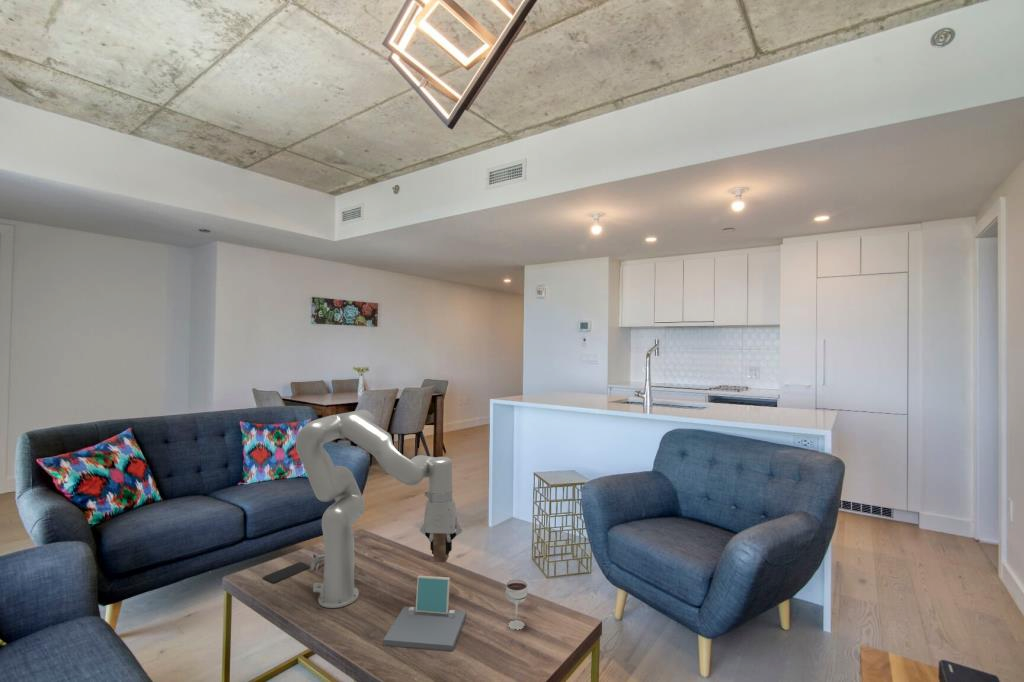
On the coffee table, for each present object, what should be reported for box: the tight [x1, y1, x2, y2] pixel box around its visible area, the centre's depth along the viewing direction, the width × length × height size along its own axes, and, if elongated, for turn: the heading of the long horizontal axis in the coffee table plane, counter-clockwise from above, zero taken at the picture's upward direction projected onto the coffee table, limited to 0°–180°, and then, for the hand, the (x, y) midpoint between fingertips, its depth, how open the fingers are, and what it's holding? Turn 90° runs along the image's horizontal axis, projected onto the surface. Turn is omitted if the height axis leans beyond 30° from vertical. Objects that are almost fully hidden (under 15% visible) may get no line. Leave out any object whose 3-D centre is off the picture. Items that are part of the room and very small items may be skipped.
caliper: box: [309, 553, 324, 573], centre depth 184 cm, size 20×1×6 cm, turn 151°
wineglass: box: [505, 579, 529, 631], centre depth 143 cm, size 7×7×12 cm
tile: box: [415, 575, 451, 614], centre depth 146 cm, size 10×10×1 cm
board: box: [382, 606, 467, 652], centre depth 140 cm, size 20×17×3 cm
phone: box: [262, 561, 310, 584], centre depth 174 cm, size 7×1×15 cm
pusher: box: [432, 534, 450, 563], centre depth 154 cm, size 4×4×10 cm
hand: (441, 552), depth 154 cm, fingers closed on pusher, 4 cm apart
